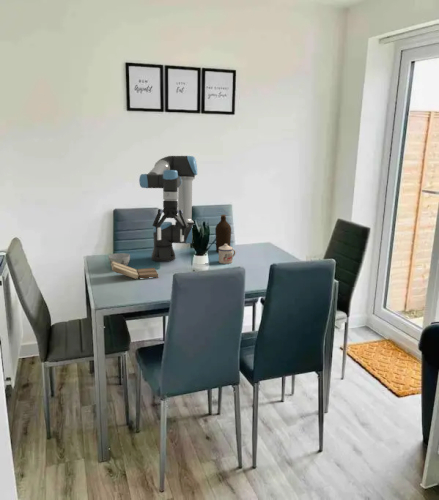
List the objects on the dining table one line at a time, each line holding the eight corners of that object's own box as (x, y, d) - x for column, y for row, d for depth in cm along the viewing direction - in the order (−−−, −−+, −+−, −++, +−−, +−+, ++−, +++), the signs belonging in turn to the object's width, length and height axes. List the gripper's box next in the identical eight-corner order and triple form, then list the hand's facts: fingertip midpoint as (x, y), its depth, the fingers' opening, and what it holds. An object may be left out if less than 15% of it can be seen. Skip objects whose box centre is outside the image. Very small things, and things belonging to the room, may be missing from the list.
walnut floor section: (137, 273, 254) (136, 269, 253) (154, 271, 257) (154, 267, 256) (140, 279, 243) (139, 275, 242) (158, 277, 246) (158, 273, 245)
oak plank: (110, 264, 248) (112, 260, 248) (134, 272, 253) (135, 269, 253) (112, 270, 237) (114, 267, 237) (137, 279, 242) (138, 275, 242)
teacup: (134, 268, 261) (134, 255, 259) (115, 273, 254) (114, 259, 252) (122, 263, 272) (121, 250, 270) (103, 266, 265) (102, 254, 263)
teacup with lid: (223, 265, 270) (224, 246, 267) (215, 261, 277) (215, 243, 274) (239, 261, 277) (239, 243, 274) (230, 258, 284) (230, 240, 281)
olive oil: (233, 250, 302) (234, 214, 296) (226, 254, 293) (226, 217, 287) (220, 248, 307) (220, 213, 301) (212, 252, 299) (212, 215, 292)
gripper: (145, 199, 231) (146, 240, 234) (188, 201, 222) (188, 243, 225) (153, 199, 238) (153, 238, 241) (195, 200, 229) (194, 241, 232)
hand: (170, 240), depth 233 cm, fingers open, 13 cm apart
